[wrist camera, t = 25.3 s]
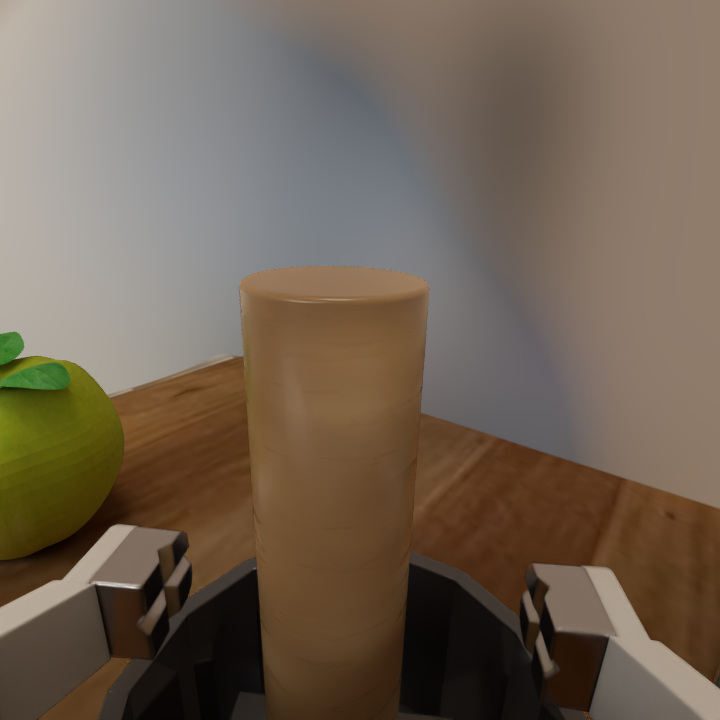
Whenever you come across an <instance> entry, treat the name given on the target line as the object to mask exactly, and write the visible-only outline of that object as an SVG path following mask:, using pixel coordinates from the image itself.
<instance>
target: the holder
mask: <svg viewBox="0 0 720 720" xmlns="http://www.w3.org/2000/svg"><path fill="white" fill-rule="evenodd" d="M169 626H170V631H169V633H168V635H167V637H166V638H165V640H164V642H163V644H162V646H161V647H160V649H159V651H158V653H157V655H156V656H155V658H154V660H141V659H132V661H131V662H130V663H129V664H128V666H127V667H126V668H125V669H124V671H123V672H122V673H121V675H120V676H119V677H118V678H117V680H116V681H115V682H114V683H113V685H112V686H111V687H110V688H109V690H108V693H107V694H106V696H105V698H104V702H103V705H102V708H101V711H100V714H99V717H98V720H229V719H230V716H231V713H232V710H233V707H234V704H235V702H236V699H237V696H238V694H239V692H241V691H244V692H252V693H260V694H265V685H264V669H263V653H262V638H261V622H260V607H259V591H258V575H257V560H256V557H255V558H251V559H248V560H247V561H244V562H242V563H241V564H239V565H238V566H236V567H235V568H233V569H232V570H230V571H228V572H227V573H225V574H224V575H222V576H221V577H219V578H218V579H216V580H215V581H213V582H212V583H210V584H209V585H207V586H206V587H204V588H202V589H201V590H199V591H198V592H196V593H195V594H193V595H192V596H190V597H189V598H187V600H186V602H185V604H184V606H183V608H182V609H181V611H180V612H178V613H177V614H176V615H174V616H173V617H171V618H170V619H169ZM532 657H533V655H532V654H531V653H530V652H529V651H528V650H527V649H526V648H525V647H524V643H523V639H522V634H521V628H520V617H519V616H517V615H516V614H515V613H514V612H513V611H511V610H510V609H509V608H508V607H507V606H505V605H504V604H503V603H502V602H501V601H499V600H498V599H497V598H496V597H495V596H493V595H492V594H491V593H490V592H488V591H487V590H486V589H485V588H484V587H482V586H481V585H480V584H479V583H478V582H476V581H475V580H474V579H473V578H472V577H470V576H469V575H468V574H467V573H466V572H463V571H462V570H460V569H457V568H454V567H452V566H449V565H447V564H444V563H441V562H439V561H436V560H434V559H431V558H428V557H426V556H423V555H421V554H418V553H415V552H413V551H410V562H409V576H408V589H407V603H406V617H405V630H404V644H403V658H402V671H401V685H400V699H399V711H402V712H409V713H417V714H425V715H433V716H441V717H449V718H453V720H587V718H586V716H585V715H584V713H583V711H578V710H571V709H564V708H557V707H550V706H543V705H540V704H539V701H538V697H537V693H536V689H535V685H534V682H533V678H532V674H531V670H530V668H531V662H532Z"/></svg>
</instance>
